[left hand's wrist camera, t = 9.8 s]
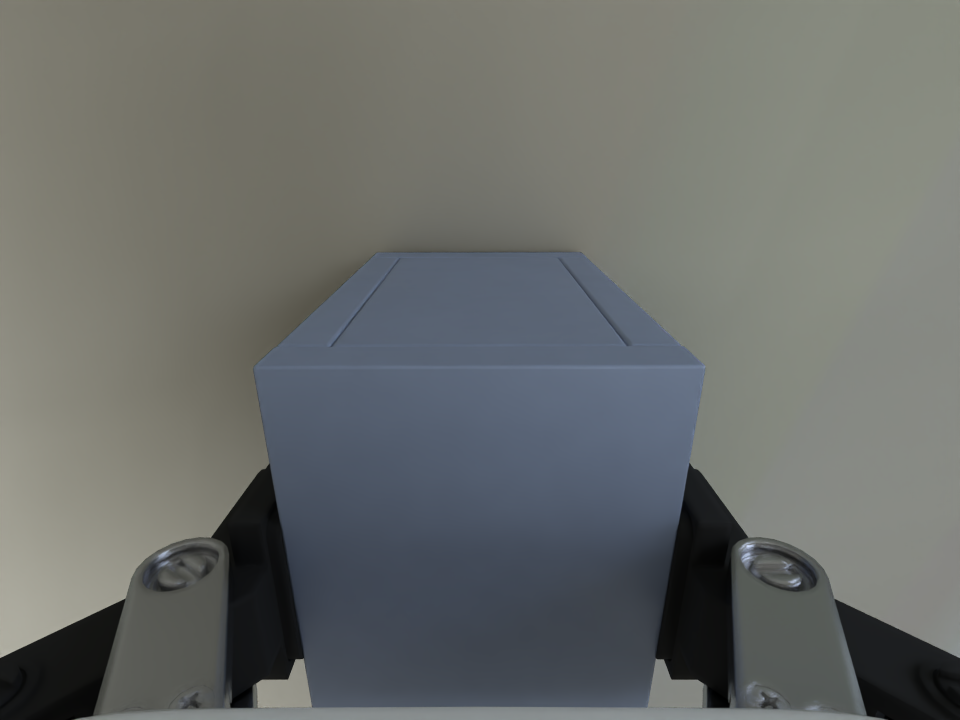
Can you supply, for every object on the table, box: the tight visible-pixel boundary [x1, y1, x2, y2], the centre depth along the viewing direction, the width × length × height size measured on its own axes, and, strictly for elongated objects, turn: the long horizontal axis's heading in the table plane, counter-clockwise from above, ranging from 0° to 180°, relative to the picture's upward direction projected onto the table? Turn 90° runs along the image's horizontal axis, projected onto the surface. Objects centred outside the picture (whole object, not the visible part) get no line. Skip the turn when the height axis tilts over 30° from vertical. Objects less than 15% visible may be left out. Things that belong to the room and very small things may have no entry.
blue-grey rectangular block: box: [253, 252, 705, 708], centre depth 15 cm, size 20×6×9 cm, turn 0°
